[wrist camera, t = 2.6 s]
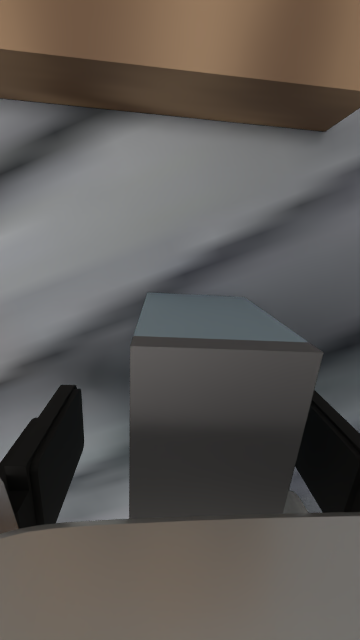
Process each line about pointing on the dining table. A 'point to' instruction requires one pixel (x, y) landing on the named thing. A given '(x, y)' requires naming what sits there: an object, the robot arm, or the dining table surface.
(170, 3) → the stand
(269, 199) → the dining table surface
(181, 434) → the block
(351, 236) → the dining table surface
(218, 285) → the dining table surface
